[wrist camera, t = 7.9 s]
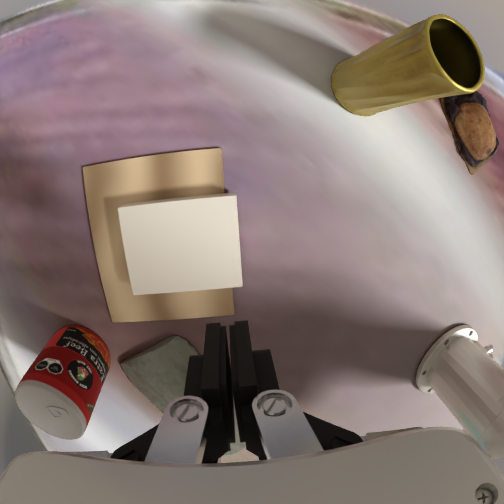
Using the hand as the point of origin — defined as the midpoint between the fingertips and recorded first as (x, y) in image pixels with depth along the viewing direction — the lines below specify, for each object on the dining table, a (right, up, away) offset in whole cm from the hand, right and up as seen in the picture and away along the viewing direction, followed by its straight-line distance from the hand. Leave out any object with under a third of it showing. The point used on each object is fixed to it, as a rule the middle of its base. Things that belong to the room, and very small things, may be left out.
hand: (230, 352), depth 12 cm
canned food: (-19, -7, +18) cm, 27 cm away
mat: (-8, +5, +15) cm, 18 cm away
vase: (+11, +20, +13) cm, 26 cm away
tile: (0, +5, +14) cm, 15 cm away
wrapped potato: (+28, +20, +16) cm, 37 cm away
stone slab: (-5, -15, +23) cm, 28 cm away
